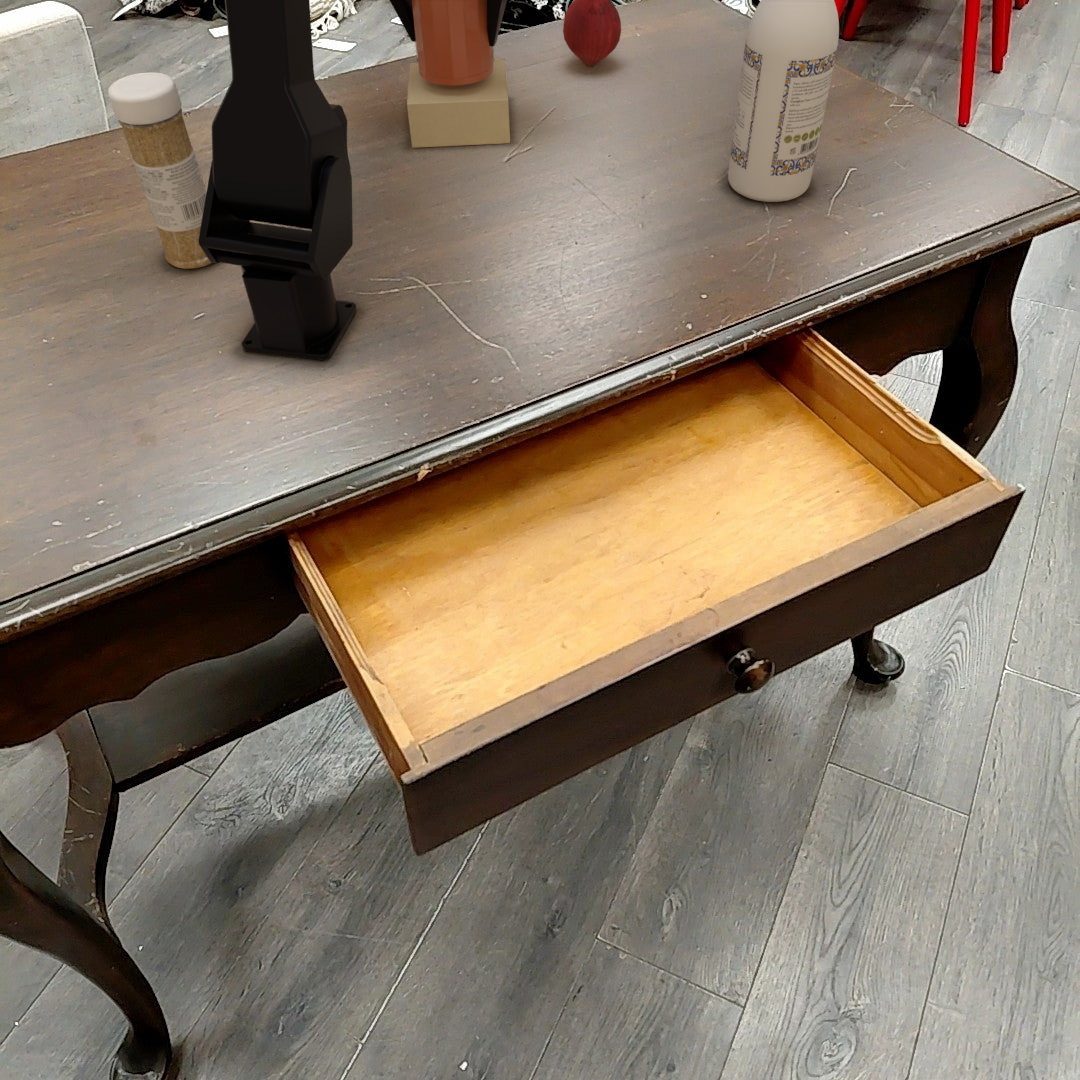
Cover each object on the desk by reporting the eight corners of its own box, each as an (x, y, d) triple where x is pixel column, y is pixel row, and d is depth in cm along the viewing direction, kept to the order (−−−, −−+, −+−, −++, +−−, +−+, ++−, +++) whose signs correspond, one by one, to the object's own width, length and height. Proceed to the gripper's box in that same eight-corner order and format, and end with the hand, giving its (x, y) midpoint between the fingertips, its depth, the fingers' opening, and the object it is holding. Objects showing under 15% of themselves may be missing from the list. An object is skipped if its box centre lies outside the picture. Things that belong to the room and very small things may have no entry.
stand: (510, 143, 89) (508, 99, 86) (412, 148, 88) (406, 104, 86) (506, 100, 95) (504, 58, 92) (414, 105, 95) (409, 62, 92)
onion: (627, 59, 101) (631, -26, 95) (607, 81, 97) (610, -6, 91) (576, 51, 103) (576, -33, 97) (554, 72, 99) (553, -14, 93)
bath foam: (821, 176, 83) (876, -91, 69) (791, 212, 80) (843, -63, 65) (746, 158, 86) (784, -104, 71) (713, 192, 82) (747, -78, 67)
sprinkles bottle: (208, 234, 79) (157, 64, 69) (234, 257, 77) (185, 84, 67) (156, 254, 77) (95, 82, 67) (181, 278, 75) (122, 103, 65)
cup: (483, 88, 85) (477, -12, 79) (409, 83, 86) (398, -16, 80) (501, 57, 90) (496, -39, 84) (430, 52, 91) (421, -43, 85)
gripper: (574, -192, 79) (573, 14, 90) (356, -197, 81) (382, 4, 93) (548, -157, 71) (550, 62, 83) (308, -164, 74) (343, 49, 85)
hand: (454, 42), depth 86 cm, fingers closed on cup, 7 cm apart
